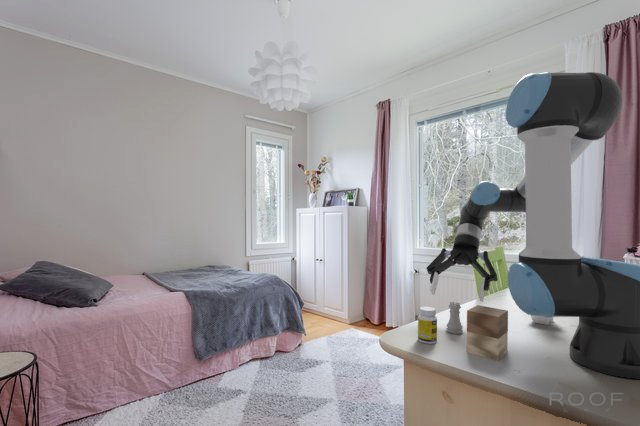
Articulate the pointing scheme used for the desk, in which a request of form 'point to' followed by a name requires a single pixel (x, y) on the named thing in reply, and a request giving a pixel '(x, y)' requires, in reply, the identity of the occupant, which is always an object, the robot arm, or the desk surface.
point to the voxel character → (542, 319)
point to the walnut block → (487, 321)
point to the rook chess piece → (454, 319)
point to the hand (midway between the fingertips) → (455, 295)
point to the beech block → (487, 345)
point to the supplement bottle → (427, 325)
